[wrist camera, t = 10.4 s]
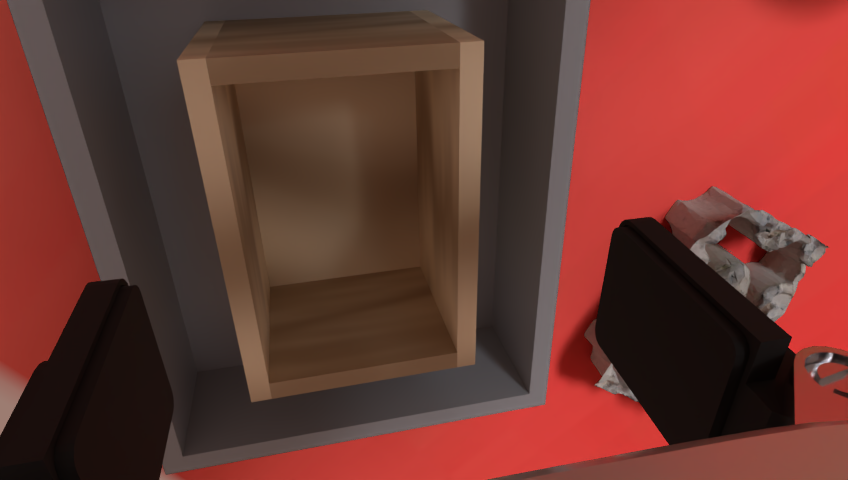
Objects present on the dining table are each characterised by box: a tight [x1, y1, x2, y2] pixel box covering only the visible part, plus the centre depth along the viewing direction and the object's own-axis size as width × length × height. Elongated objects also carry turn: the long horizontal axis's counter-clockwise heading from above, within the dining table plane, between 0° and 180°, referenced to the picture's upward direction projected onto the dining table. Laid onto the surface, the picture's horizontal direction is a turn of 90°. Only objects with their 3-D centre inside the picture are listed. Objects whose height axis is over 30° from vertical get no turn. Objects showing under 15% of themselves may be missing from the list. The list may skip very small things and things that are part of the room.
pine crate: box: [177, 10, 484, 402], centre depth 18 cm, size 10×7×6 cm
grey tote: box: [7, 0, 590, 475], centre depth 19 cm, size 18×14×5 cm
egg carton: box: [584, 187, 829, 402], centre depth 27 cm, size 11×8×4 cm
